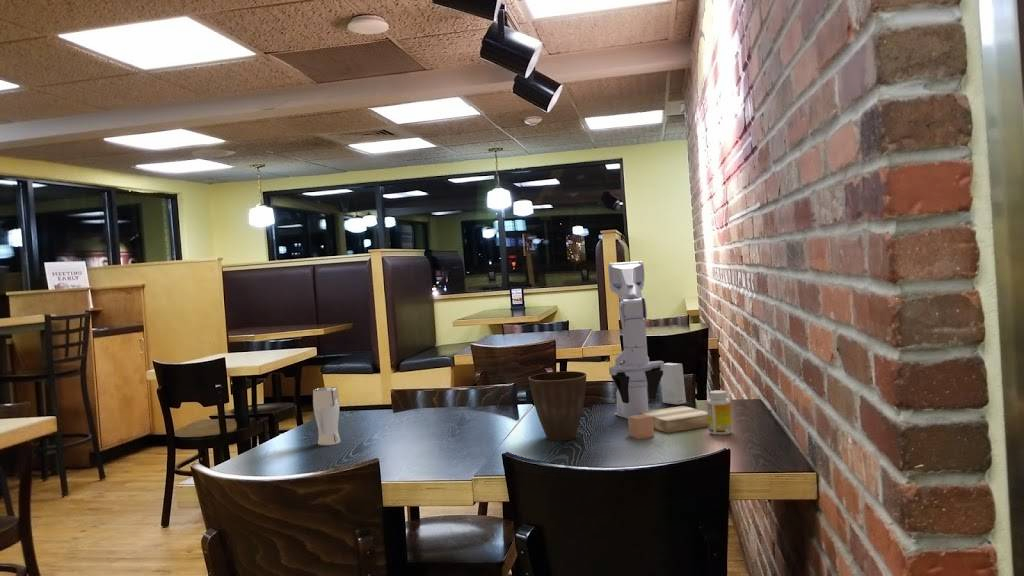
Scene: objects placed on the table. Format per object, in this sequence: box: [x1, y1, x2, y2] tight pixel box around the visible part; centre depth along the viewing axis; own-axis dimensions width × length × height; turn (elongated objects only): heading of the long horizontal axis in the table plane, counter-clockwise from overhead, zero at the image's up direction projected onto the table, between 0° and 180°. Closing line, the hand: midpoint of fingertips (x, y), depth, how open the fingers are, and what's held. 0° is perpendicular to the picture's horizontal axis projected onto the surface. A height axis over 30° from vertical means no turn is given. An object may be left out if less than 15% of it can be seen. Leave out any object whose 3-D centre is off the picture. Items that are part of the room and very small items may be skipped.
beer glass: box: [312, 386, 341, 447], centre depth 196 cm, size 7×7×15 cm
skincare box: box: [660, 362, 687, 406], centre depth 218 cm, size 6×4×12 cm
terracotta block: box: [627, 414, 655, 440], centre depth 178 cm, size 4×4×5 cm
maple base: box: [639, 405, 709, 434], centre depth 188 cm, size 14×14×3 cm
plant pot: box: [527, 370, 587, 442], centre depth 183 cm, size 15×15×16 cm
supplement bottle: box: [706, 389, 733, 436], centre depth 175 cm, size 6×6×10 cm
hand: (639, 400), depth 178 cm, fingers open, 7 cm apart
